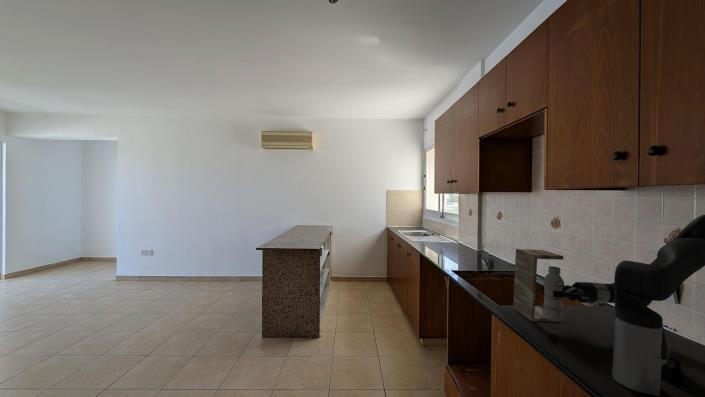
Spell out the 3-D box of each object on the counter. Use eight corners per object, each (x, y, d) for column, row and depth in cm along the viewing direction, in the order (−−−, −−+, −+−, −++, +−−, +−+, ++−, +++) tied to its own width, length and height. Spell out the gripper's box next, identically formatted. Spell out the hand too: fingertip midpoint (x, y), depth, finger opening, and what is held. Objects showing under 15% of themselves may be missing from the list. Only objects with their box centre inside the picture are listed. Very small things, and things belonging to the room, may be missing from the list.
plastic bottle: (566, 325, 107) (569, 270, 107) (545, 322, 109) (548, 268, 108) (557, 318, 114) (560, 266, 113) (538, 315, 115) (541, 264, 115)
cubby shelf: (538, 309, 134) (541, 249, 133) (559, 321, 121) (563, 256, 120) (512, 308, 133) (515, 249, 133) (531, 320, 120) (534, 255, 120)
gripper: (575, 277, 119) (535, 275, 118) (608, 288, 104) (561, 287, 104) (574, 295, 119) (534, 294, 118) (606, 309, 104) (560, 308, 104)
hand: (547, 291), depth 111 cm, fingers closed on plastic bottle, 6 cm apart
